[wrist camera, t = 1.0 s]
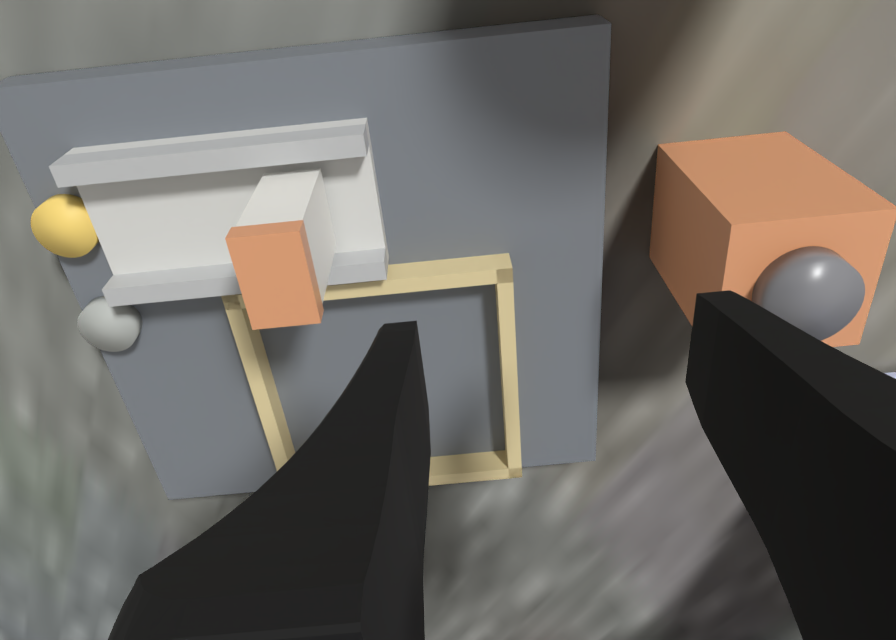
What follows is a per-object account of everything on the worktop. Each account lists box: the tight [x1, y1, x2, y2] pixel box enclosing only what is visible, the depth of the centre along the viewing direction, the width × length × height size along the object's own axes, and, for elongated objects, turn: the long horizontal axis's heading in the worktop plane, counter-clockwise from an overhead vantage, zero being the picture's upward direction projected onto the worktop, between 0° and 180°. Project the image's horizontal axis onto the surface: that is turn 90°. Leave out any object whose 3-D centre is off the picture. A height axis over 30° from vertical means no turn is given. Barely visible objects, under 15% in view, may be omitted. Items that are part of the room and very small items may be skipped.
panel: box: [0, 14, 611, 500], centre depth 22 cm, size 16×17×3 cm
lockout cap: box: [649, 132, 896, 347], centre depth 20 cm, size 4×4×7 cm
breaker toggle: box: [225, 168, 336, 330], centre depth 18 cm, size 2×2×4 cm
